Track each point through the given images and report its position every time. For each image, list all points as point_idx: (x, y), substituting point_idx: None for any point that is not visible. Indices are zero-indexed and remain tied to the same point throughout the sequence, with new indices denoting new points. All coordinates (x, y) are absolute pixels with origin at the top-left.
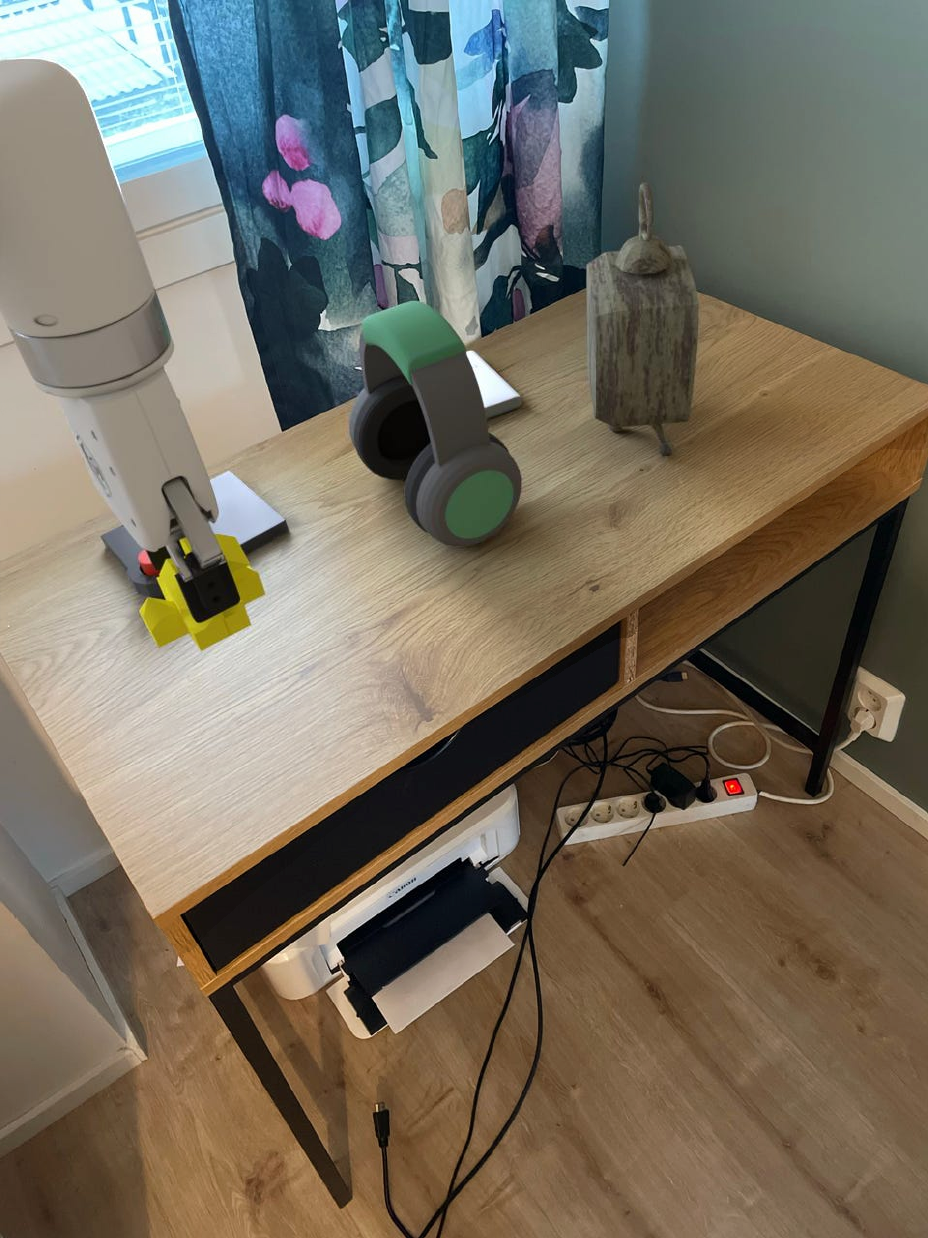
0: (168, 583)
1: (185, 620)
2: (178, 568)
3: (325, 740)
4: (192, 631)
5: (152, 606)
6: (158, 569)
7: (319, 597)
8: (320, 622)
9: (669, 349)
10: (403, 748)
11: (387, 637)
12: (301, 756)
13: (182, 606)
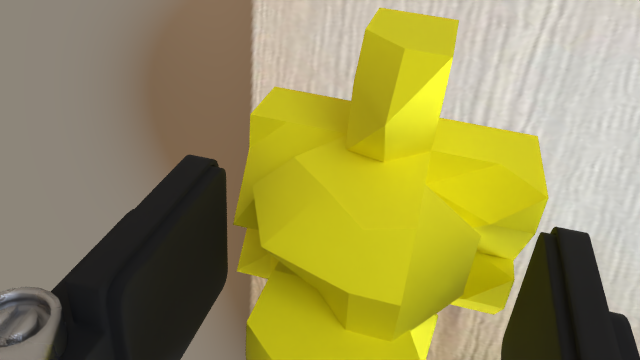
0: (335, 219)
1: (321, 133)
2: (41, 333)
3: (345, 94)
4: (265, 118)
5: (374, 105)
6: (542, 232)
7: (603, 282)
8: None
9: None
10: None
11: None
12: (349, 50)
13: (282, 170)
